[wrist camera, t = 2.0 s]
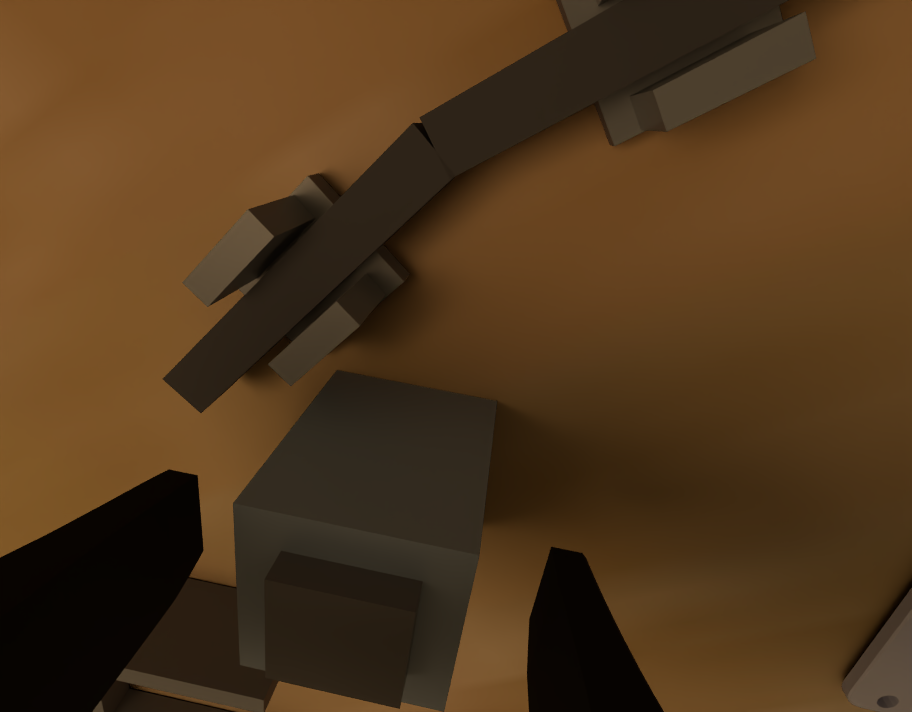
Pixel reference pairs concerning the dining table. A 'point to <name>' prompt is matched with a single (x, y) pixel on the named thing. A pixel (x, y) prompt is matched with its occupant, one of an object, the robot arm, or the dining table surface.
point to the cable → (450, 166)
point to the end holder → (192, 659)
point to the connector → (365, 541)
